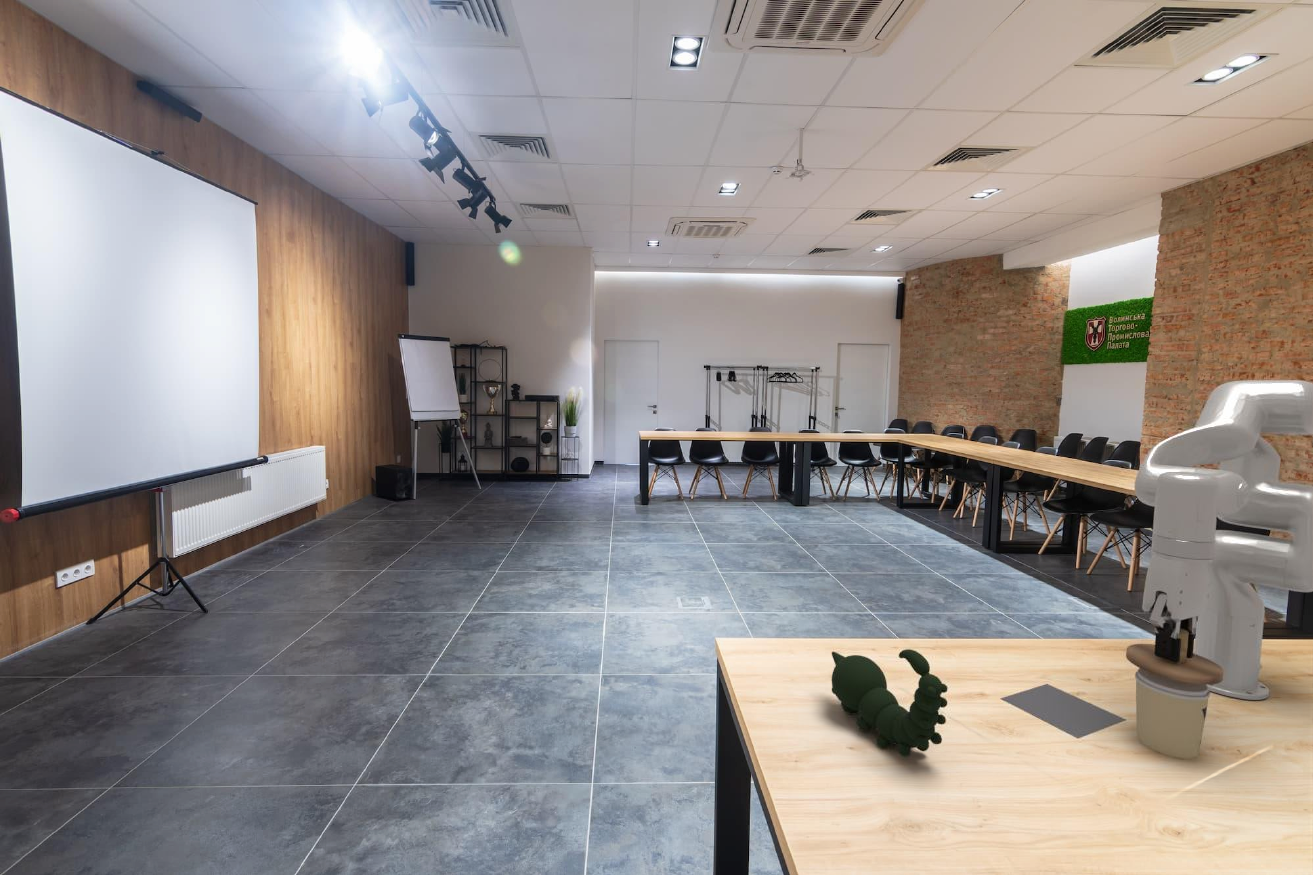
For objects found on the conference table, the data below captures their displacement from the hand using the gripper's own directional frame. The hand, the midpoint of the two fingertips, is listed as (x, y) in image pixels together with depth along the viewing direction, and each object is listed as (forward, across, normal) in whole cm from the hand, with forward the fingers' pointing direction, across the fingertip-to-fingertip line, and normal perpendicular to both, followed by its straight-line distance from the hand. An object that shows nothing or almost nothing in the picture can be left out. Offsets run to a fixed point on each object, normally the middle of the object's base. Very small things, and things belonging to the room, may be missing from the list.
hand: (1173, 655), depth 96 cm
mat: (+16, +5, -14) cm, 22 cm away
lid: (+2, 0, 0) cm, 2 cm away
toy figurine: (+16, +41, -23) cm, 50 cm away
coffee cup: (+16, 0, 0) cm, 16 cm away
